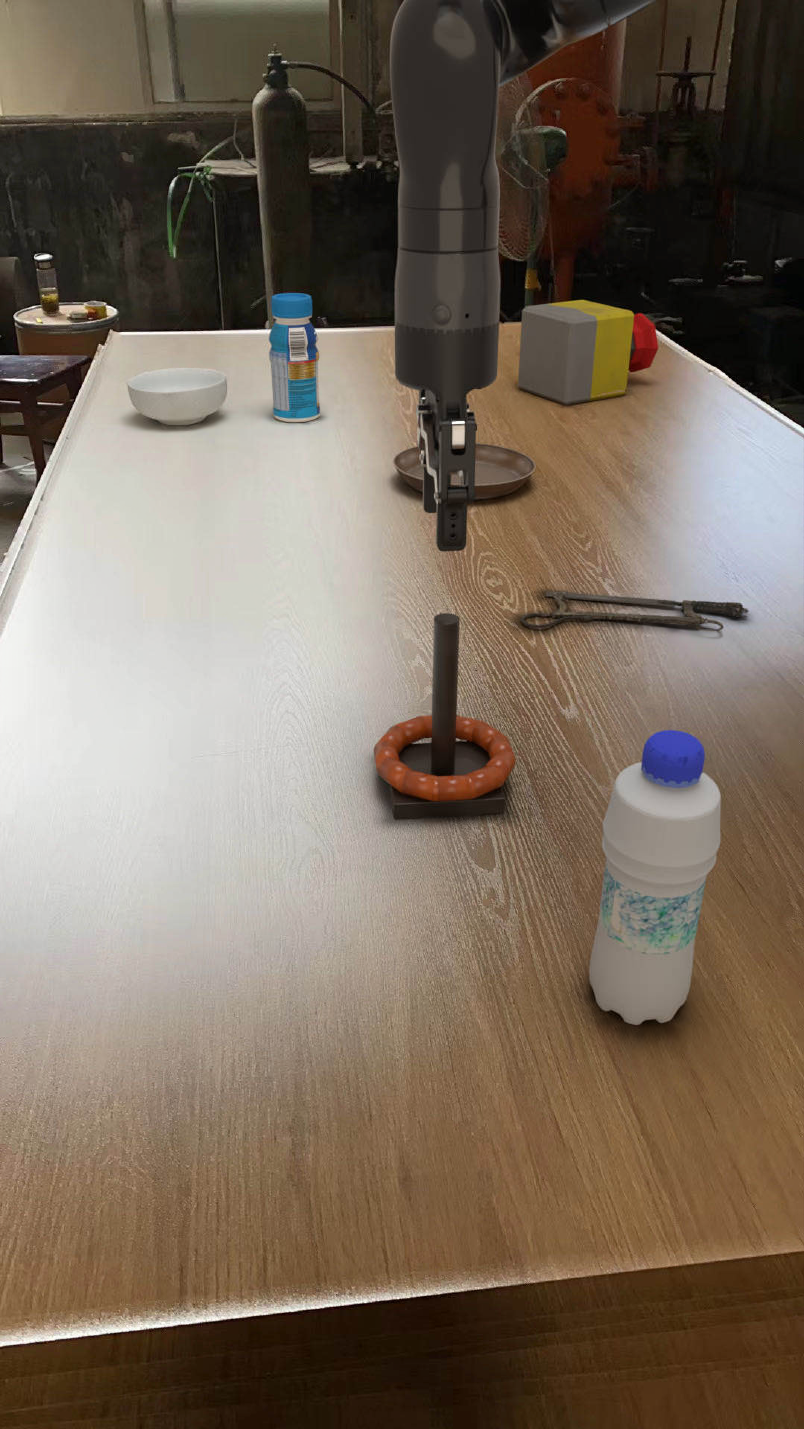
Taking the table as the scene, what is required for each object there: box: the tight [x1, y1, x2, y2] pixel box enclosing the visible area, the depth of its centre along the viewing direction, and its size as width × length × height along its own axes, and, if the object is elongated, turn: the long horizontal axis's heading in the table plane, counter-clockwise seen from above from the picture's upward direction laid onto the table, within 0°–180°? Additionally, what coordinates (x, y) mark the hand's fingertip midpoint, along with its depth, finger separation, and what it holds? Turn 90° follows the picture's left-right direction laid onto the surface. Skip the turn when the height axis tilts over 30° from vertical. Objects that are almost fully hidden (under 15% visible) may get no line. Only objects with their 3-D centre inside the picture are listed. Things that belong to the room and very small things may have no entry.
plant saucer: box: [392, 442, 537, 501], centre depth 159 cm, size 21×21×3 cm
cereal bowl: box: [126, 367, 228, 426], centre depth 187 cm, size 17×17×7 cm
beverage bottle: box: [268, 292, 321, 423], centre depth 185 cm, size 8×8×20 cm
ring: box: [373, 714, 517, 802], centre depth 91 cm, size 12×12×2 cm
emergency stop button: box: [517, 299, 659, 406], centre depth 204 cm, size 15×24×15 cm, turn 122°
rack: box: [388, 612, 506, 820], centre depth 88 cm, size 9×9×16 cm
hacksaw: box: [520, 590, 750, 632], centre depth 119 cm, size 24×10×2 cm, turn 76°
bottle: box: [588, 729, 722, 1026], centre depth 65 cm, size 7×7×20 cm
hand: (443, 529), depth 86 cm, fingers open, 8 cm apart
